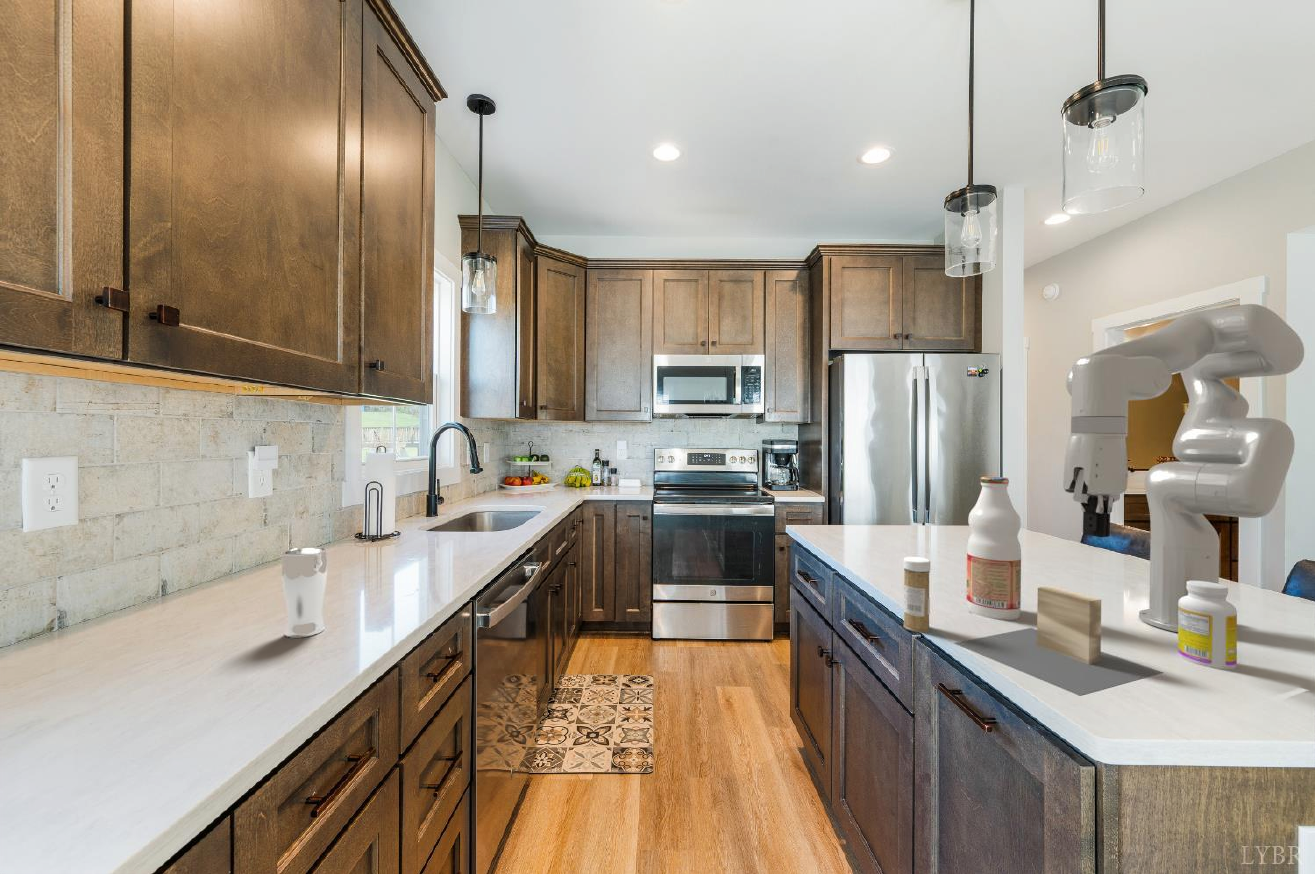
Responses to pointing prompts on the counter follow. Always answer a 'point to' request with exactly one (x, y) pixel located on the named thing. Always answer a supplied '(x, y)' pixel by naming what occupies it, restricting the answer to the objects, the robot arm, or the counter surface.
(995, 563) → the fruit juice
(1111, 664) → the rubber mat
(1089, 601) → the birch tile
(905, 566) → the sprinkles bottle
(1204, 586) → the supplement bottle
